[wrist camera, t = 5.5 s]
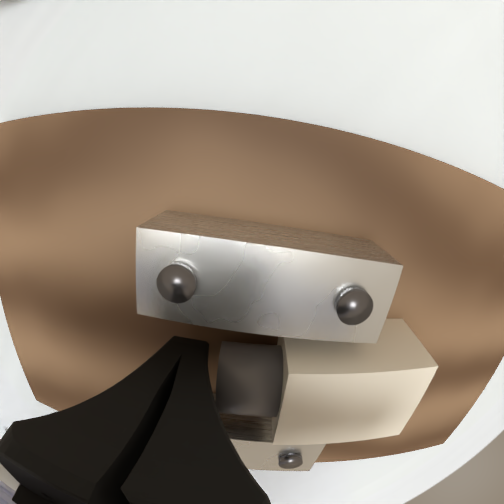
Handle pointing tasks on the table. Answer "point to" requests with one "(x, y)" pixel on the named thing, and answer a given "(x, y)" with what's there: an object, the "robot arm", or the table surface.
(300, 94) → the table surface
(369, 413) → the plug
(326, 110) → the table surface
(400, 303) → the base board
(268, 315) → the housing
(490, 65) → the table surface
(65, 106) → the table surface
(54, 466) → the robot arm
